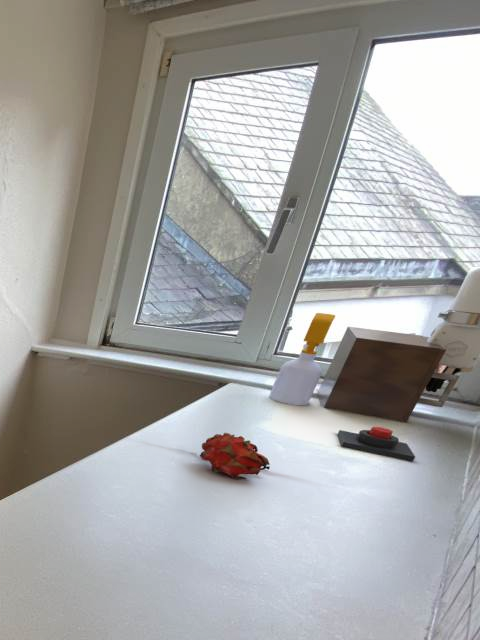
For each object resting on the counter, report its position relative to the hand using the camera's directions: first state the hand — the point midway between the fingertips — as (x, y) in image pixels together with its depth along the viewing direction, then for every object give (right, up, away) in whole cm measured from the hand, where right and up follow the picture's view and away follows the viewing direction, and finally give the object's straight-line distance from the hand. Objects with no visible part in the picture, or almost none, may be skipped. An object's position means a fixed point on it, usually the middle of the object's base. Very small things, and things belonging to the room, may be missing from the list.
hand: (430, 390), depth 144 cm
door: (-1, -6, +5) cm, 8 cm away
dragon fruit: (-79, -22, -35) cm, 89 cm away
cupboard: (-10, -3, +10) cm, 15 cm away
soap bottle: (-29, -2, +11) cm, 31 cm away
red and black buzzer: (-35, -17, -20) cm, 44 cm away
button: (-35, -14, -22) cm, 44 cm away
